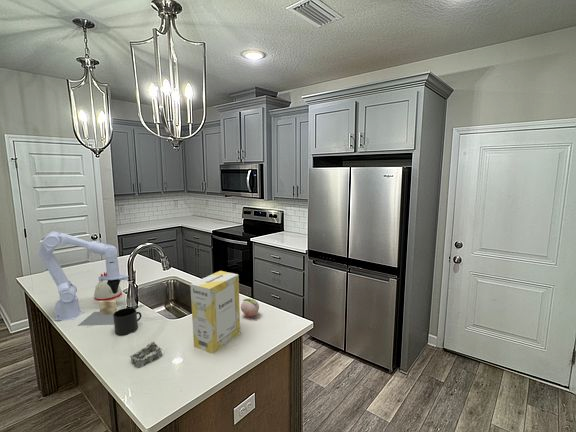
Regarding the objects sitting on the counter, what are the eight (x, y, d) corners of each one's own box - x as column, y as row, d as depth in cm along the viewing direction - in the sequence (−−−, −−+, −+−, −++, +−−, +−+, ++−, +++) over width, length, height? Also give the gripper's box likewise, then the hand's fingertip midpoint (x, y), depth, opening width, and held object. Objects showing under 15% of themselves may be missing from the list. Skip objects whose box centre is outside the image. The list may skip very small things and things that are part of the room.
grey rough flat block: (155, 349, 128) (155, 340, 128) (164, 356, 123) (163, 347, 123) (129, 361, 120) (128, 351, 120) (137, 369, 116) (136, 359, 115)
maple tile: (100, 314, 156) (98, 301, 155) (101, 313, 158) (100, 300, 157) (116, 314, 157) (114, 301, 156) (117, 313, 158) (116, 300, 157)
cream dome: (88, 299, 176) (85, 274, 173) (110, 290, 188) (108, 266, 186) (106, 303, 171) (103, 277, 168) (127, 293, 183) (124, 269, 181)
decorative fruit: (262, 314, 157) (262, 296, 155) (254, 321, 150) (253, 302, 148) (247, 310, 161) (246, 293, 159) (238, 318, 154) (237, 299, 152)
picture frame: (77, 326, 146) (77, 325, 146) (94, 312, 160) (94, 311, 160) (116, 325, 147) (116, 324, 147) (129, 311, 161) (129, 310, 161)
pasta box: (212, 353, 125) (209, 289, 120) (194, 346, 130) (190, 284, 125) (240, 332, 140) (238, 274, 136) (222, 326, 145) (220, 270, 141)
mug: (147, 327, 145) (145, 309, 144) (120, 338, 136) (118, 319, 134) (137, 320, 151) (136, 303, 149) (111, 331, 142) (109, 313, 140)
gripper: (130, 265, 166) (132, 289, 168) (102, 266, 165) (105, 290, 167) (124, 270, 159) (126, 294, 161) (95, 270, 158) (98, 295, 160)
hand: (115, 292), depth 164 cm, fingers closed
